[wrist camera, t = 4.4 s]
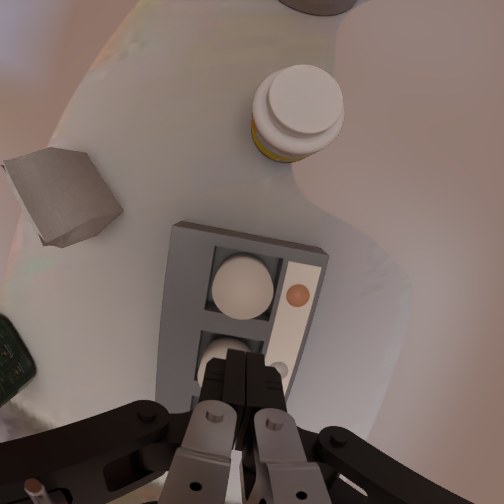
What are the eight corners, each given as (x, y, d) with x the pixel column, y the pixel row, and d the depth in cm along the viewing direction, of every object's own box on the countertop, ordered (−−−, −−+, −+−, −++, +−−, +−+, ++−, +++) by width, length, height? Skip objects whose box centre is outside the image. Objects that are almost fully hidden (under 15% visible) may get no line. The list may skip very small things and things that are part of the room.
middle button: (205, 333, 25) (201, 350, 22) (258, 342, 25) (259, 361, 22) (199, 375, 26) (194, 395, 23) (248, 383, 26) (248, 404, 23)
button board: (180, 221, 26) (171, 226, 22) (320, 248, 26) (330, 256, 23) (160, 413, 30) (153, 432, 26) (267, 431, 30) (269, 451, 27)
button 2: (220, 248, 25) (217, 256, 22) (275, 258, 25) (279, 267, 22) (211, 299, 25) (207, 313, 22) (264, 309, 26) (266, 324, 23)
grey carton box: (86, 152, 24) (17, 142, 14) (123, 211, 25) (62, 225, 15) (60, 178, 24) (-11, 180, 15) (96, 235, 26) (30, 260, 16)
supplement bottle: (281, 87, 23) (301, 33, 13) (330, 131, 24) (378, 101, 14) (236, 133, 24) (229, 98, 14) (286, 177, 25) (312, 171, 15)
